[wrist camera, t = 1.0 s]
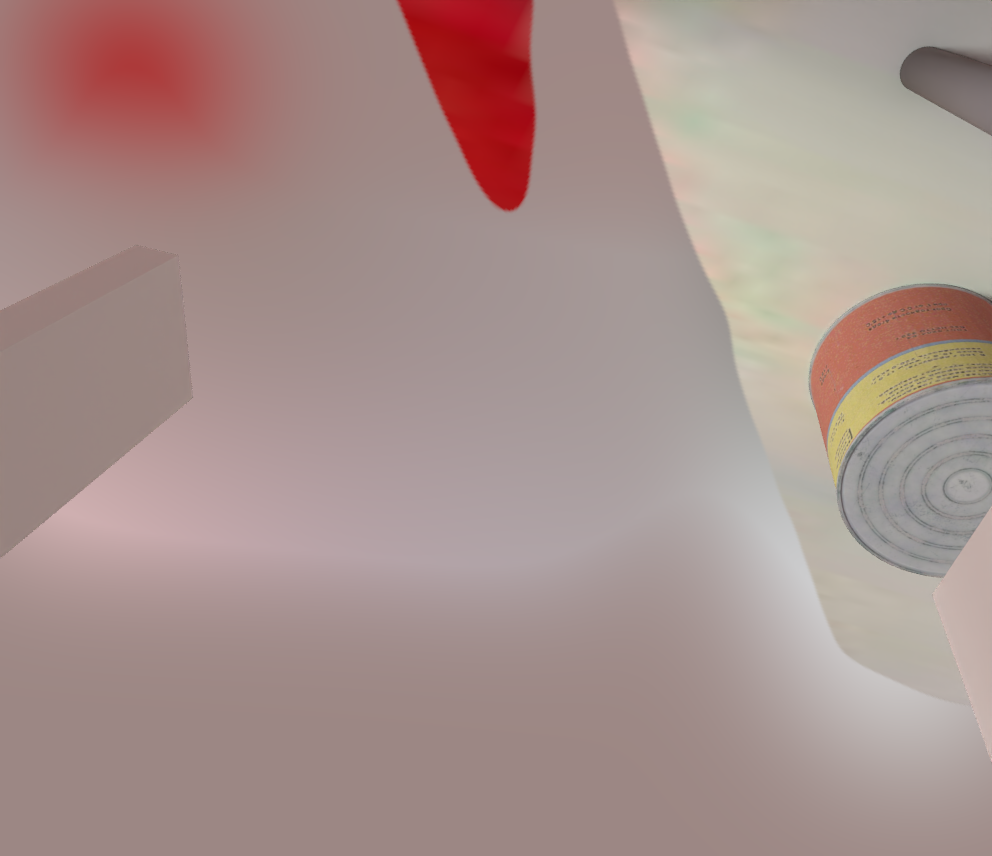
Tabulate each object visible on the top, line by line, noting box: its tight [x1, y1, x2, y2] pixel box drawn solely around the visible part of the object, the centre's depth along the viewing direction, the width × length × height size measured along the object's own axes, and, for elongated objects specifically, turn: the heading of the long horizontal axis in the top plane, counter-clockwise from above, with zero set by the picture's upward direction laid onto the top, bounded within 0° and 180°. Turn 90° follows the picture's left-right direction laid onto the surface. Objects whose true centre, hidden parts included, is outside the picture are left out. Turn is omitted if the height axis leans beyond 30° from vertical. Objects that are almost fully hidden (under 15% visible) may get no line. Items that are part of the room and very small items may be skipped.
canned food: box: [809, 284, 992, 578], centre depth 40 cm, size 11×11×12 cm
